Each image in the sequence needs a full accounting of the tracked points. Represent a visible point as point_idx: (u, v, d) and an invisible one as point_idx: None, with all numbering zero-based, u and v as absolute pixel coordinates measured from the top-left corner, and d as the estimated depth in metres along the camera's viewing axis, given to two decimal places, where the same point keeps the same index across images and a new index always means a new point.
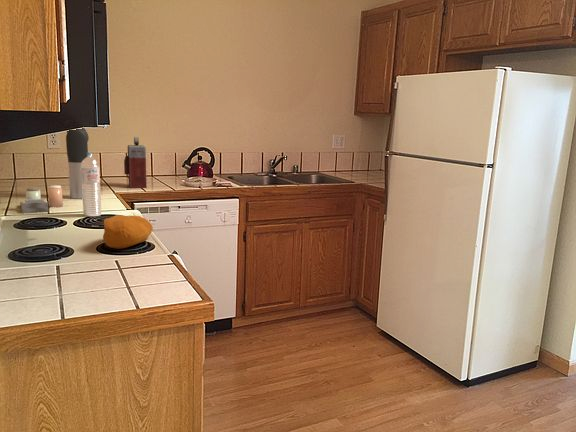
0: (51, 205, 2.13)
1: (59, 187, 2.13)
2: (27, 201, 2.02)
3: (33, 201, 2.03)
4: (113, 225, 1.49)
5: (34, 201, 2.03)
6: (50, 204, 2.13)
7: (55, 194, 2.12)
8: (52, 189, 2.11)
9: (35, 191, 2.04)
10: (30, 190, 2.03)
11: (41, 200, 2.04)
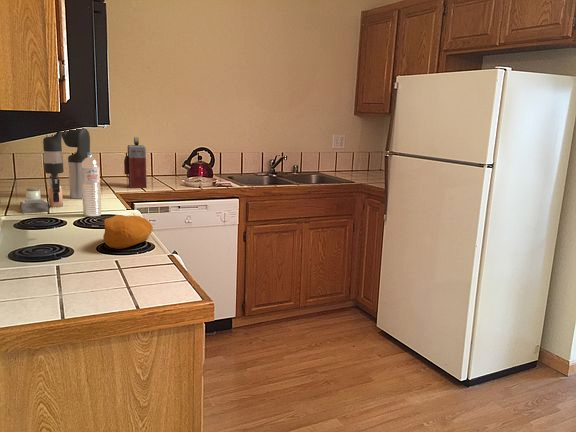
0: (51, 205, 2.13)
1: None
2: (27, 201, 2.02)
3: (33, 201, 2.03)
4: (114, 225, 1.49)
5: (34, 201, 2.03)
6: (50, 204, 2.13)
7: None
8: (52, 189, 2.11)
9: (35, 191, 2.04)
10: (30, 190, 2.03)
11: (41, 200, 2.04)
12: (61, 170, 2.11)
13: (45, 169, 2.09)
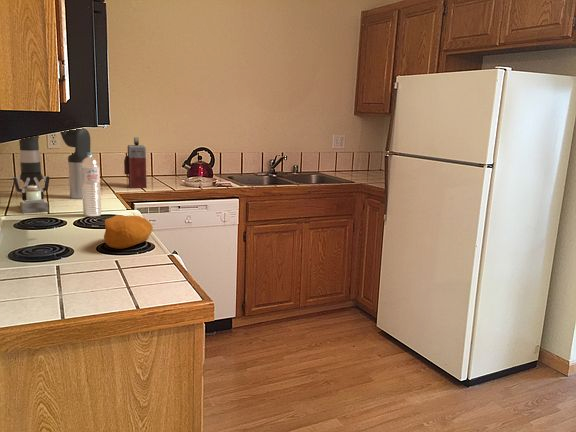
0: None
1: (27, 187, 2.07)
2: (27, 202, 2.01)
3: (33, 202, 2.02)
4: (115, 225, 1.49)
5: (34, 202, 2.02)
6: None
7: None
8: None
9: (35, 191, 2.03)
10: (30, 190, 2.02)
11: (41, 200, 2.03)
12: (24, 170, 2.04)
13: None
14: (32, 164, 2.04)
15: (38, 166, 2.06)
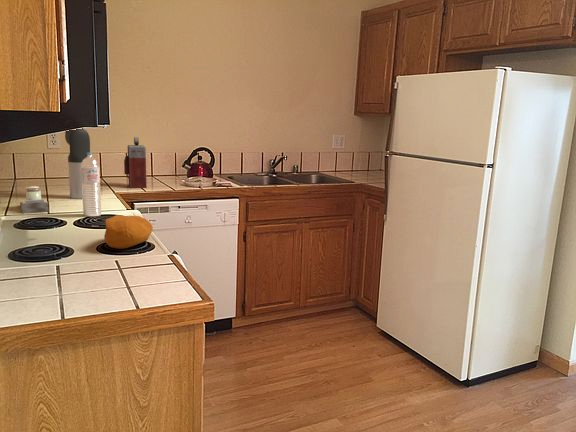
0: None
1: None
2: (27, 202, 2.01)
3: (33, 202, 2.02)
4: (115, 225, 1.49)
5: (34, 202, 2.02)
6: None
7: None
8: None
9: (35, 192, 2.03)
10: (30, 191, 2.02)
11: (41, 201, 2.03)
12: None
13: None
14: None
15: None
